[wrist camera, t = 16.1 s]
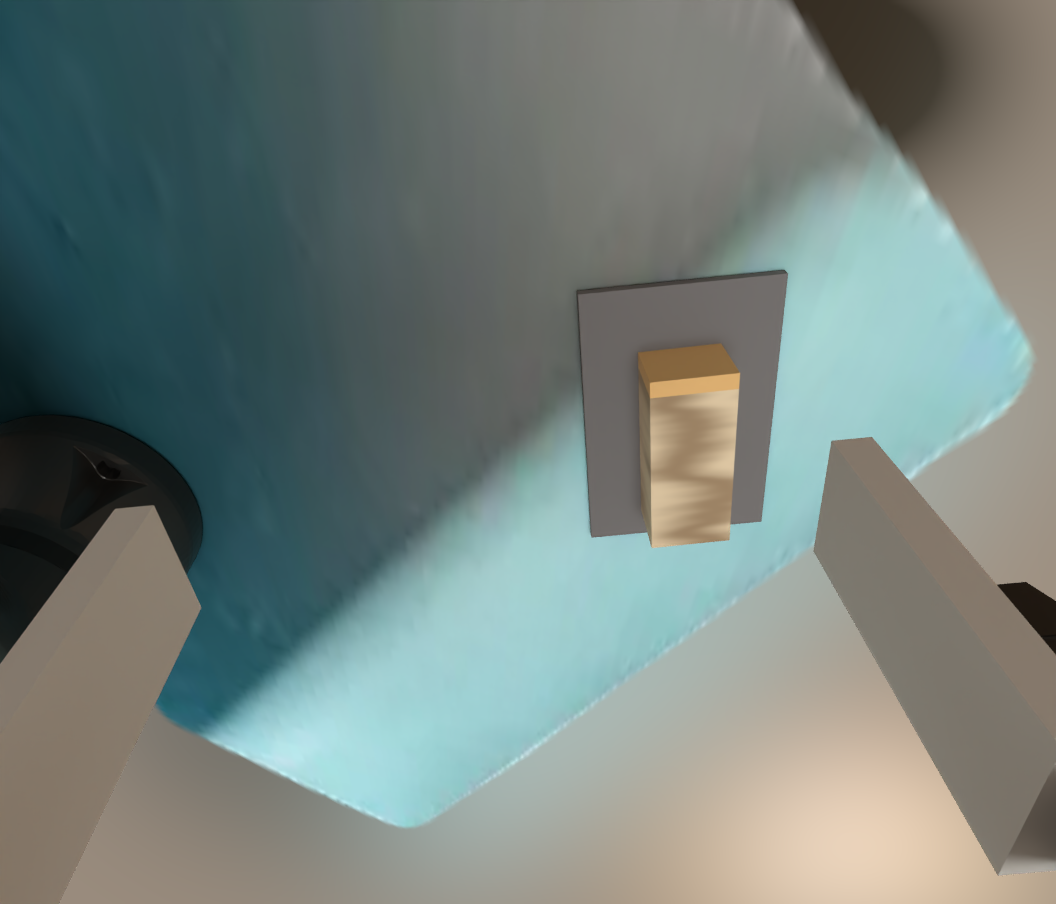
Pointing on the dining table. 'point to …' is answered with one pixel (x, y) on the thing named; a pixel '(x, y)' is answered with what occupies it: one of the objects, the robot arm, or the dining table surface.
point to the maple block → (687, 443)
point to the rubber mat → (666, 323)
